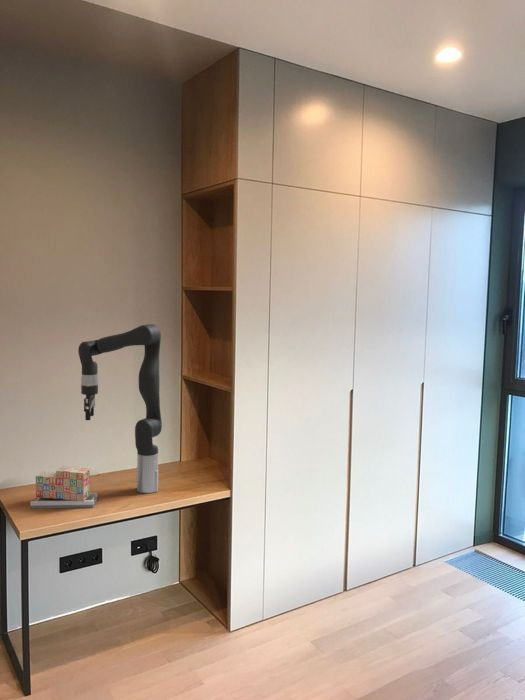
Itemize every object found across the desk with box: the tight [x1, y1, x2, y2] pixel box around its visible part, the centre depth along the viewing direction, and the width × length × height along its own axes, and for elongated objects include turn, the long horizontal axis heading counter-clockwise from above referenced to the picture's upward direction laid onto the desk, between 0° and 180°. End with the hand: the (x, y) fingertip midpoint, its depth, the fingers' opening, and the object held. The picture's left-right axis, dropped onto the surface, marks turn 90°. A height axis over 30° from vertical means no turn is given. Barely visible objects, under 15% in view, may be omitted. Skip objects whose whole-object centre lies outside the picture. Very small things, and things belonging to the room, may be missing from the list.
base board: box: [30, 492, 98, 509], centre depth 238 cm, size 25×10×3 cm, turn 97°
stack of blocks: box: [35, 465, 91, 502], centre depth 237 cm, size 21×6×12 cm, turn 81°
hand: (89, 417), depth 264 cm, fingers open, 8 cm apart
